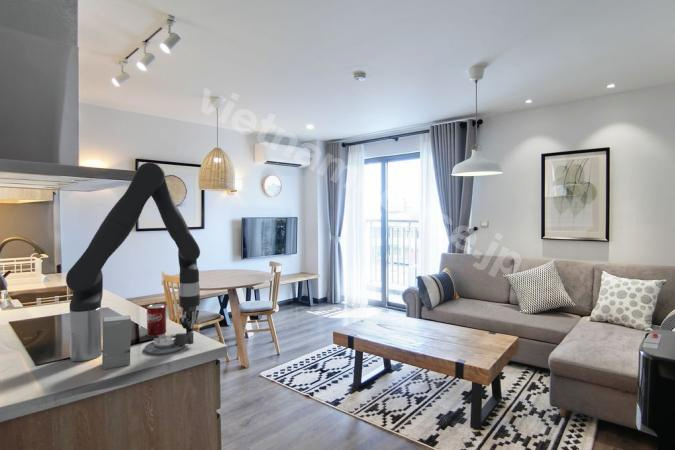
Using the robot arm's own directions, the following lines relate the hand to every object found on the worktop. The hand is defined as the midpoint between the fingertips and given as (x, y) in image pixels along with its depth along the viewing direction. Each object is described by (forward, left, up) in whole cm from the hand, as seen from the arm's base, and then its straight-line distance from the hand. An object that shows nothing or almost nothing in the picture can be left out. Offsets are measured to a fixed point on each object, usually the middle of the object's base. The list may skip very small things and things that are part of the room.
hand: (189, 337), depth 147 cm
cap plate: (-9, +1, -2) cm, 9 cm away
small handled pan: (-6, -1, -1) cm, 6 cm away
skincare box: (-26, -4, -3) cm, 26 cm away
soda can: (-7, +20, -3) cm, 21 cm away
